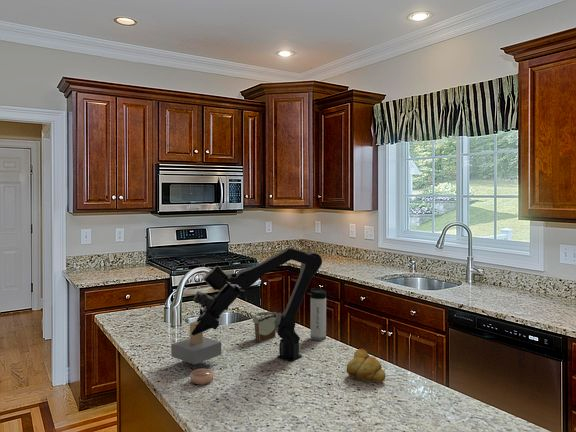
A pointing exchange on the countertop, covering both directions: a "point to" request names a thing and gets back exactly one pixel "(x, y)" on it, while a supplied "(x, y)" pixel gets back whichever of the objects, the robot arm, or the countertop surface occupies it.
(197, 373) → the bowl
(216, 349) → the cover
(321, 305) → the travel mug
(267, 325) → the food container
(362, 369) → the bread roll
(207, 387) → the countertop surface
